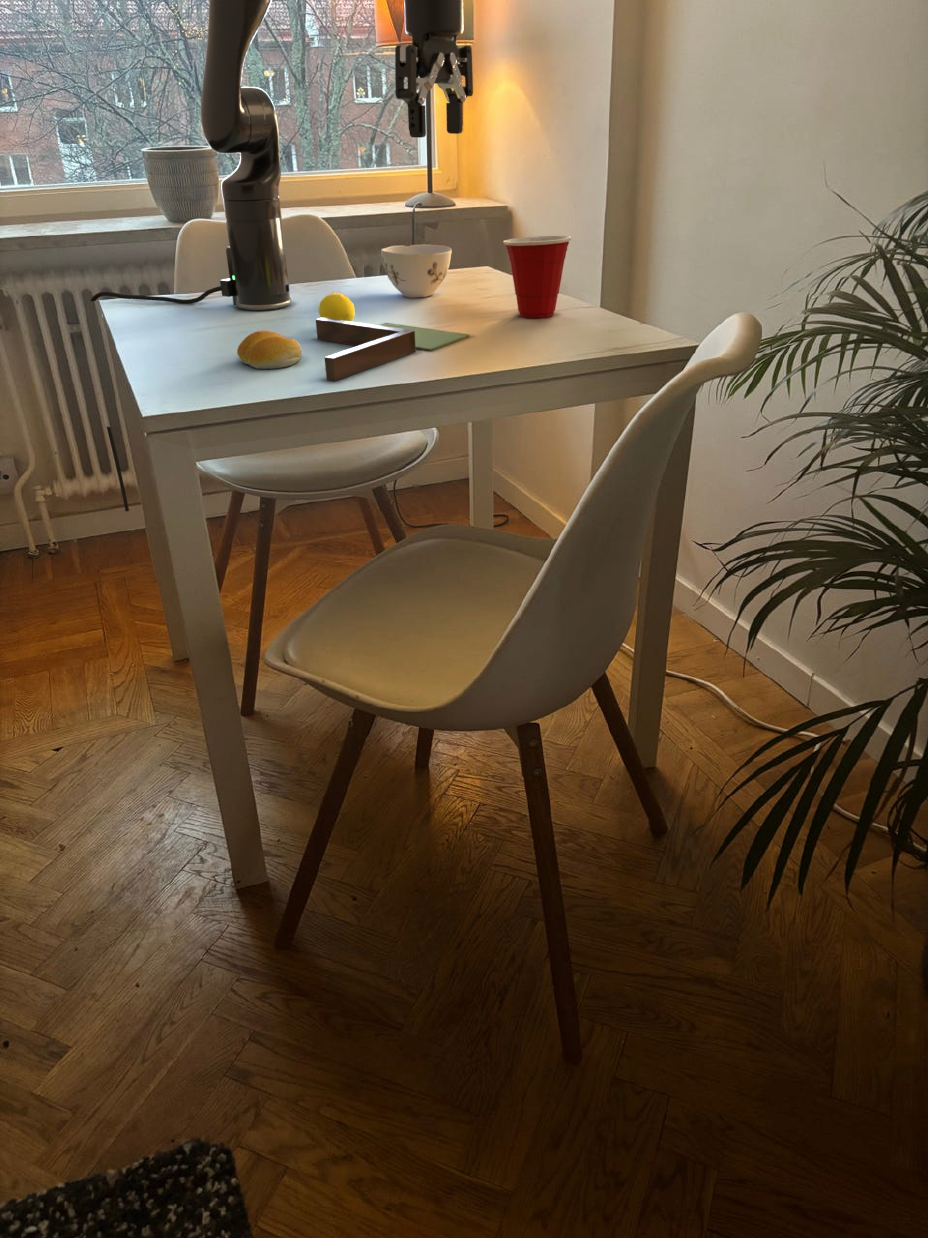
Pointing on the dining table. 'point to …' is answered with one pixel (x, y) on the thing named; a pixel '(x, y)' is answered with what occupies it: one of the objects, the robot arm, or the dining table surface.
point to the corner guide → (362, 346)
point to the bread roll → (269, 350)
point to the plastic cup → (537, 272)
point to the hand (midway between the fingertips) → (436, 135)
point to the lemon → (337, 307)
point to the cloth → (430, 336)
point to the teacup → (416, 268)
